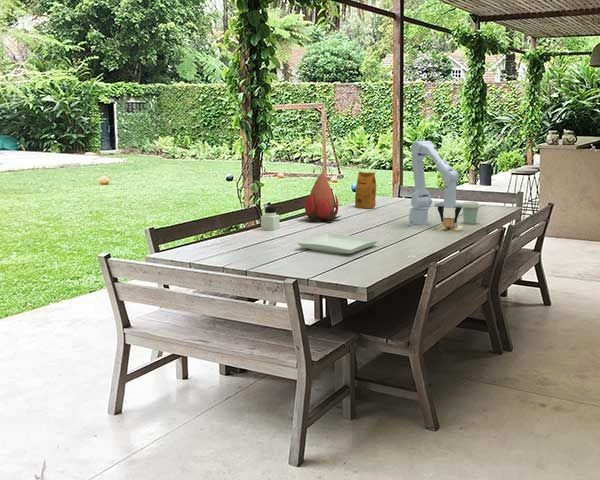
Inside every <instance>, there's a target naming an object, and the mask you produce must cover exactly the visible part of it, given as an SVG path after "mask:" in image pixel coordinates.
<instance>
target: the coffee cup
mask: <svg viewBox="0 0 600 480" xmlns="http://www.w3.org/2000/svg"><path fill="white" fill-rule="evenodd" d="M462 204H465V208H464V209H462V216H463V224H464V225H470V226H472V225H473V226H474V225H476V223H477V219H478V218H477V217H478V212H479V207H480V205H479V203H478V202H474V201H464V202H463V203H462Z"/></svg>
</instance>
